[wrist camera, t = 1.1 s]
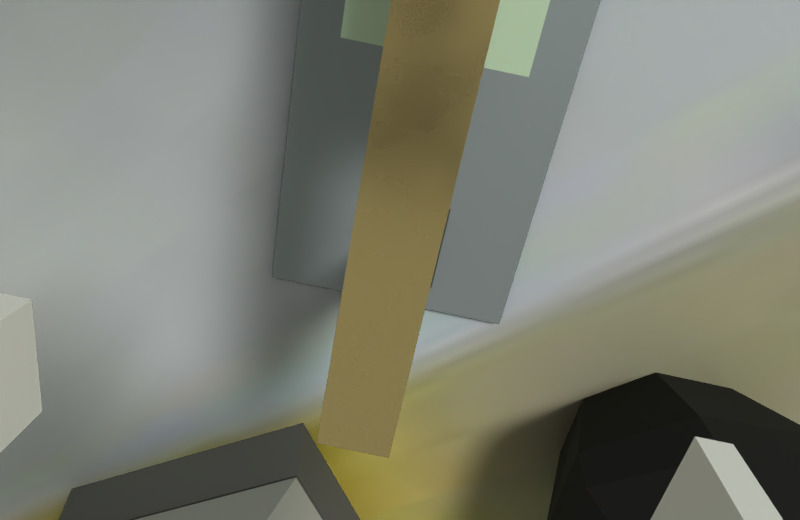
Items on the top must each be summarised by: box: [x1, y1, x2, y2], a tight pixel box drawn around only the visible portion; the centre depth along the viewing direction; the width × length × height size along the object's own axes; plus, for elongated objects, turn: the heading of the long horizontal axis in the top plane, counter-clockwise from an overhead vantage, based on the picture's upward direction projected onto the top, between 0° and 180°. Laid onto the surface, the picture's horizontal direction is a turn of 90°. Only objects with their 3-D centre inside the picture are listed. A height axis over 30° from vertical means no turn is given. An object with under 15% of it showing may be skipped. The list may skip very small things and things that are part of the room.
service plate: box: [272, 0, 601, 324], centre depth 29 cm, size 24×14×1 cm, turn 169°
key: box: [317, 0, 500, 458], centre depth 22 cm, size 16×2×15 cm, turn 169°
